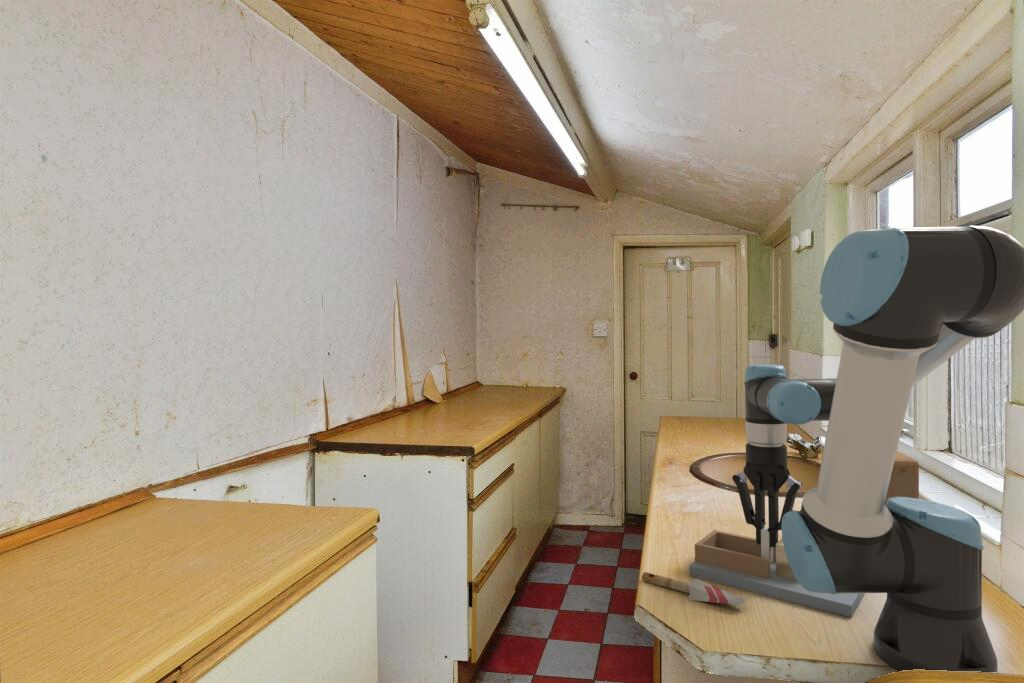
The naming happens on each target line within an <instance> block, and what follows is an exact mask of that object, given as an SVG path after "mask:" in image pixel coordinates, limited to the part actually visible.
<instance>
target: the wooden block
mask: <svg viewBox="0 0 1024 683" xmlns="http://www.w3.org/2000/svg"><path fill="white" fill-rule="evenodd" d="M919 465H920V464H919V461H918V460H916V459H914V458H912V457H910V456H908V455H906V454H904V453H902V452H899V451H897V452H896V456H895V461H894V465H893V469H892V473H891V477H890V482H889V486H888V490H887V494H886V499H885V503H884V505H885V504H886V502H887V499H889V498H892V497H909V498H916V499H920V486H919V485H920V476H919V475H920V466H919Z"/></svg>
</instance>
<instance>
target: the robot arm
mask: <svg viewBox="0 0 1024 683" xmlns="http://www.w3.org/2000/svg"><path fill="white" fill-rule="evenodd" d="M819 286H820V287H819V294H820V296H822V297H821V300H820V305H821V308H822V311H823V313H824V316H825V317H826V318H827V320H829V322H831V323H833V325H832V326H833V327H832V330H833V332H834V333H835V334H836V336H837V337H838V338H839V339H840V340H841V341H842V348H841V353H840V357H839V358H840V359H839V364H838V369H837V374H836V378H798V379H797V378H790V379H789V378H788V376H787V370H786V368H785V366H784V365H781V364H770V363H769V364H768V363H767V364H764V363H763V364H762V363H761V364H750V365H748V366H746V369H745V372H744V381H743V386H744V403H745V404H744V406H745V407H744V408H745V411H744V412H745V414H744V415H745V440H746V441H747V443H746V444H745V465H744V467H743V471H741V472H737V473H735V474H733V475H732V478H731V479H732V481H733V483H734V484H735V486H736V489H737V491H738V496H739V499H740V503H741V507H742V511H743V515H744V516H743V517H744V518H745V523H746V524H748V525H752V526H753V527H754V528H755V539H756V542H757V544H759V545H761V557H763V558H767V559H770V563H771V562H772V561H773V547H774V548H775V547H776V543H777V542H778V541H779V531H781V538H782V539H783V544H784V549H785V553H786V556H787V560H788V562H789V565H790V567H791V570H792V572H793V574H794V576H795V578H796V579H797V581H798V582H799V583H800V584H801V586H802V587H804V588H805V589H806V590H808V591H811V592H816V593H830V594H840V593H847V594H848V593H865V594H883V593H884V594H886V600H885V602H884V604H883V606H882V610H881V612H880V615H879V617H878V620H877V622H876V624H875V626H874V630H873V648H874V651H875V653H876V654H877V655H878V657H880V658H881V659H882V660H883V661H884V662H886V664H888V665H889V666H890V667H893V668H894V669H896V670H898V671H900V672H902V670H913V669H925V670H947V671H981V672H997V673H998V657H997V655H996V653H995V649H994V647H993V643H992V642H991V639H990V637H989V634H988V631H987V628H986V626H985V623H984V620H983V613H982V610H983V606H982V604H983V578H982V577H983V572H982V571H983V554H982V552H983V550H984V549H985V548H984V544H983V539H982V538H983V537H982V527H981V524H980V522H979V520H977V519H976V518H975V517H974V516H973V515H972V514H970V513H968V512H966V511H964V510H961V509H959V508H956V507H953V506H951V505H947V504H944V503H940V502H935V501H931V500H926V499H922V498H921V499H920V498H919V499H916V498H909V497H892V498H889V499H887V502H886V504H885V505H884V503H885V499H886V494H887V490H888V486H889V482H890V477H891V473H892V469H893V465H894V461H895V456H896V452H898V447H899V443H900V440H901V434H902V430H903V425H904V423H905V418H906V414H907V410H908V405H909V401H910V396H911V392H912V389H913V386H915V385H916V384H917V383H919V382H920V381H922V380H923V379H924V378H925V377H927V376H928V375H930V374H931V373H932V372H933V371H935V370H936V369H937V368H939V367H940V366H941V365H943V364H944V363H945V362H946V361H948V360H949V359H950V358H952V357H953V356H954V355H956V354H957V353H958V352H960V351H961V350H963V349H964V348H965V347H966V346H967V345H969V344H970V343H972V342H973V341H974V340H976V339H986V338H989V337H993V336H994V335H996V334H998V333H999V332H1000V331H1002V330H1003V329H1004V328H1006V327H1008V326H1009V325H1010V324H1011V323H1013V322H1014V320H1015V319H1017V318H1018V317H1019V316H1020V315H1021V314H1022V312H1024V245H1023V243H1021V242H1019V241H1018V240H1017V239H1016V238H1014V237H1013V236H1012V235H1010V234H1008V233H1005V232H1003V231H1001V230H999V229H997V228H992V227H990V226H989V227H988V226H981V225H963V226H935V227H934V226H929V227H928V226H927V227H924V226H923V227H920V226H919V227H915V226H914V227H891V226H887V227H881V228H878V229H864V230H858V231H855V232H852V233H850V234H848V235H846V236H845V237H844V238H842V240H841V241H840V242H838V243H837V244H836V245H835V246H834V248H833V249H832V250H831V252H830V254H829V255H828V258H827V259H826V262H825V265H824V267H823V270H822V274H821V279H820V285H819ZM820 421H821V422H822V421H823V422H828V424H827V429H826V434H825V440H824V445H823V451H822V456H821V462H820V468H819V472H818V477H817V484H816V486H814V487H812V488H809V489H808V490H807V491H806V492H805V493H804V494H803V497H802V502H801V508H800V510H795V509H794V506H795V501H796V497H797V493H798V492H799V491H800V490H801V488H802V487H803V482H802V481H801V480H796V479H794V477H792V476H791V472H790V470H789V468H788V447H787V446H786V443H787V442H788V434H787V433H788V430H787V428H788V427H787V426H788V425H798V426H799V425H801V426H802V425H806V424H808V423H810V422H820ZM748 481H749V482H750V483H751V485H752V486H753V494H754V506H753V502H752V497H751V493H750V490H749V486H748V485H749V484H748V483H747V482H748ZM785 483H787V484H786V488H787V493H786V495H785V499H784V503H783V506H782V511H781V514H780V517H779V506H780V505H779V494H780V489H781V488H782V487H783V486H784V485H785ZM766 491H767V493H766ZM766 494H767V498H768V502H767V504H768V507H767V508H768V526H765V525H766V524H767V522H766Z"/></svg>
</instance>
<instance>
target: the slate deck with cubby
mask: <svg viewBox="0 0 1024 683" xmlns="http://www.w3.org/2000/svg"><path fill="white" fill-rule="evenodd" d="M689 576H691V577H695V578H697V579H703V580H707V581H709V582H714V583H717V584H722V585H725V586H729V587H730V586H731V587H733V588H737V589H741V590H746V591H748V592H753V593H757V594H761V595H764V596H768V597H771V598H775V599H778V600H779V599H780V600H784V601H788V602H790V603H795V604H798V605H803V606H807V607H809V608H814V609H818V610H822V611H825V612H830V613H832V614H837V615H841V616H846V617H848V618H853V616H854V615H855V612H856V611H857V609H858V607H859V605H860V604H861V602H862V600H863V598H864V596H865V594H866V593H840V594H830V593H816V592H811V591H808V590H806V589H805V588H804V587H802V586H801V584H800V583H799V582H798V581H797V580H796V579H792V578H788V577H783V576H779V575H776V547H775V548H774V547H773V561H772V562H771V563H770V559H767V558H763V557H761V545H759V544H757V542H756V537H755V538H754V537H751V536H750V537H749V536H744V535H739V534H735V533H732V532H731V533H729V532H726V531H725V532H724V531H720V530H716V529H715V530H713V531H711V532H710V533H709V534H707V535H705V536H704V537H703V538H702V539H700V540H699V541H698V542H696V543H694V561H693V562H692V563H691V564H690V565H689Z"/></svg>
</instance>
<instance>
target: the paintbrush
mask: <svg viewBox="0 0 1024 683" xmlns="http://www.w3.org/2000/svg"><path fill="white" fill-rule="evenodd" d="M641 579H642V581H643V582H645V583H649V584H650V583H651V584H653V585H656V586H659V587H664V588H668V589H672V590H675V591H679V592H682V593H683V592H684V593H687V594H689V596H688V598H687V599H688V600H690V601H697V602H699V601H700V602H707V603H716V604H724V605H734V606H742V605H743V604H744V603H745V602H746V601H747V599H745V598H743V597H740V596H738V595H736V594H733V593H731V592H730V591H727V590H725V589H722V588H720V587H717V586H715V585H712V584H710V583H708V582H706V581H704V580H701V579H700V578H698V577H695V579H693V580H692V581H690V582H688V581H687V582H686V581H683V580H679V579H674V578H672V577H671V578H670V577H666V576H662V575H659V574H653V573H651V572H646V571H644V572H643V573H642V575H641Z"/></svg>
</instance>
